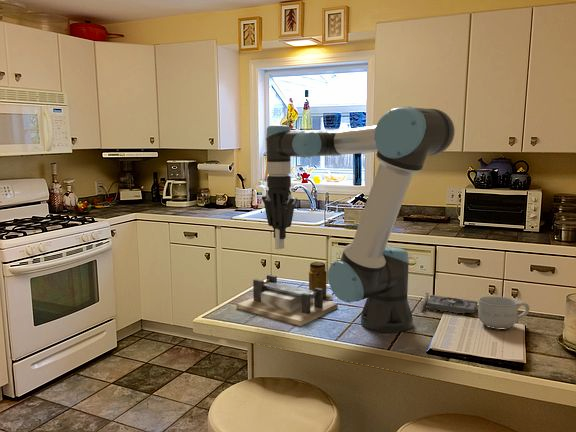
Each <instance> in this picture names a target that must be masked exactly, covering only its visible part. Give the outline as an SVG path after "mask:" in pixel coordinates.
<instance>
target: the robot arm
mask: <svg viewBox="0 0 576 432" xmlns="http://www.w3.org/2000/svg"><path fill="white" fill-rule="evenodd" d="M455 131H456V129H455V125H454V122H453V120H452V118H451V117H450V116H449V115H448V114H447V113H446V112H444V111H442V110H440V109H436V108H423V107H422V108H421V107H412V106H401V107H395V108H392V109H390V110H389V111H387V112H385V113H384V114H383V115H382V116H381V117H380V118H379V120H378V122H377V123H376V125H372V126H371V125H370V126H369V125H368V126H362V127H354V128H348V129H346V128H345V129H339V130H330V131H328V130H327V131H315V130H313V131H312V130H300V131H298V130H297V131H291V127H290V125H280V124H279V125H268V126H267V127H266V133H265V134H266V137H265V142H266V143H265V144H266V145H265V146H266V174H267V175H268V176H267V177H266V186H267V188H268V190H267V194H265V195H263V196H261V200H262V202H263V204H264V205H263V206H264V209H265V210H264V211H265V215H266V220H267V225H268V226H269V227H272V229H273V238H274V239H275V244H274V245H275V250H282V249H285V239H286V236H287V235H286V234H287V230H286V229H288V228H290V227H291V226H292V221H293V216H294V211H295V205H296V203H298V198H297V197H293V195H292V192H291V186H292V177H291V176H290V174H292V172H291V170H292V169H291V167H292V166H291V157H293V158H294V157H295V158H297V157H299V158H303V159H304V158H311V157H312V158H313V157H322V156H323V157H329V156H331V157H332V156H335V157H336V156H337V157H338V156H342V155H353V154H367V153H368V154H369V153H375V154H376V158H377V160H378V162H379V164H378V168H377V171H376V173H375V176H374V179H373V182H372V186H371V188H370V190H369V192H368V196H367V200H366V201H365V204H364V208H363V210H362V214H361V217H360V220H359V223H358V226H357V228H356V231H355V234H354V237H353V241H352V243H349V244H347V245H345V247H344V249H343V252H342V255H341V257H340V260H335V261H334V262H332V263H331V264H330V265H329V268H328V270H327V281H328V284H329V287H330V290H331V291H332V294H334V295H335V297H336V298H337V299H339V300H340V301H342V302H344V303H355V302H357V303H358V302H360V301H362V300H365V302H364V305H363V308H362V311H361V313H360V324H361V325H362V326H363V327H365V328H366V329H369V330H371V331H374V332H375V331H376V332H381V333H401V332H405V331H408V330H410V329H412V327H413V325H414V324H413V323H414V319H413V314H412V311H411V308H410V304H409V301H408V291H409V289H408V288H409V265H410V262H409V253H408V251H407V250H405V249H404V248H400V247H394V246H387V244H388V241H389V239H390V236H391V234H392V231H393V228H394V225H395V223H396V221H397V218H398V216H399V212H400V211H401V208H402V204H403V202H404V199H405V197H406V194H407V192H408V189H409V188H410V187H409V186H410V184H411V182H412V178H413V176H414V174H417V173H419V172H421V171H422V170H423V168H424V165H425V162H426V159H427V157H431V156H436V155H439V154H441V153H443V152H445V151H446V150H447V149H448V148H449V147H450V146H451V144H452V143H453V141H454V138H455V133H456V132H455Z"/></svg>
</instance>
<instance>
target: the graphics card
mask: <svg viewBox="0 0 576 432" xmlns="http://www.w3.org/2000/svg"><path fill="white" fill-rule="evenodd" d="M424 293H425V296H424V298H423V300H422V301H421V306H420V311H422V312H423V311H426V310H427V309H428V308H429V309H428V310H429V311H430V310H432V311H433V310H434V311H433V312H436V311H438V310H440V311H439V312H443V311H449V312H448V313H451V312H457V313H456V314H458V313H463V314H462V315H465V314H466V313H469V314H475V311H476V310H477V309H478V301H476V300H471V299H465V298H464V299H463V298H457V297H448V296H441V295H434V294H431V295H430V293H429V292H424ZM426 306H427V307H426ZM430 308H431V309H430ZM464 313H465V314H464Z"/></svg>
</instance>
